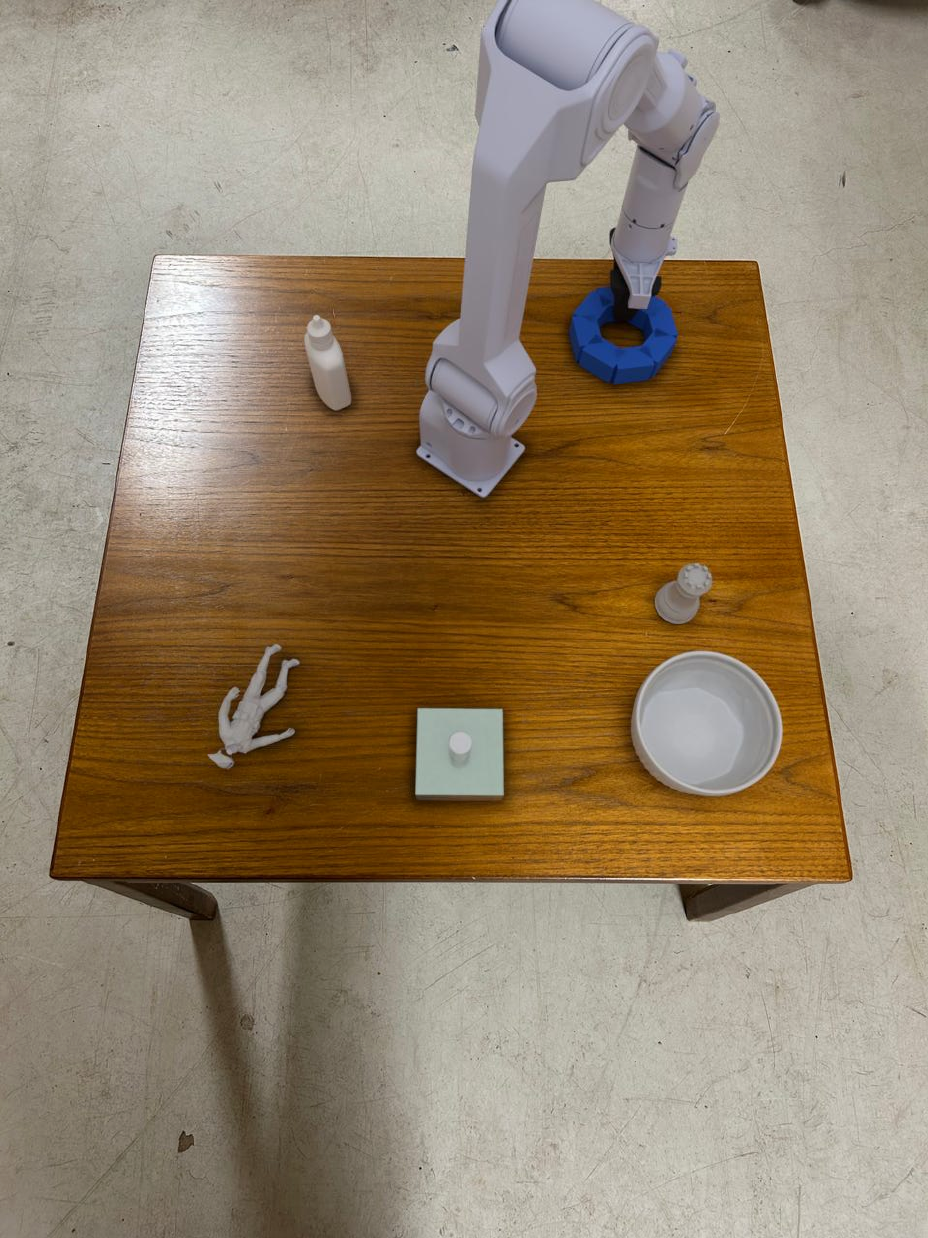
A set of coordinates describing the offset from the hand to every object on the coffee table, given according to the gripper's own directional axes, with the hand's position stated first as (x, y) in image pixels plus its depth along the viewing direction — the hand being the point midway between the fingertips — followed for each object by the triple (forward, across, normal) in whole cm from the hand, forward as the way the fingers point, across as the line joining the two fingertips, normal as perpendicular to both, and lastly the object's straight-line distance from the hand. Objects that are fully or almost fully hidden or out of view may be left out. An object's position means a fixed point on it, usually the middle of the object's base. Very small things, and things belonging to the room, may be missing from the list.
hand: (622, 303), depth 92 cm
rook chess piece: (+2, -38, -5) cm, 38 cm away
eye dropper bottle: (+2, -14, +33) cm, 36 cm away
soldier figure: (+2, -51, +36) cm, 63 cm away
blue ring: (+1, -4, 0) cm, 5 cm away
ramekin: (+2, -51, -6) cm, 51 cm away
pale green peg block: (+1, -55, +16) cm, 57 cm away
